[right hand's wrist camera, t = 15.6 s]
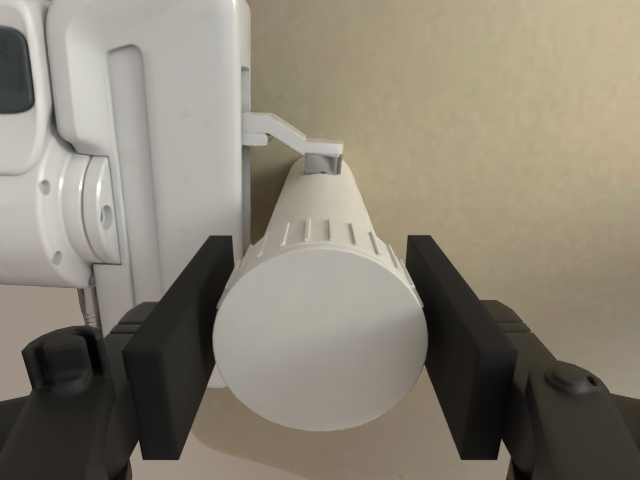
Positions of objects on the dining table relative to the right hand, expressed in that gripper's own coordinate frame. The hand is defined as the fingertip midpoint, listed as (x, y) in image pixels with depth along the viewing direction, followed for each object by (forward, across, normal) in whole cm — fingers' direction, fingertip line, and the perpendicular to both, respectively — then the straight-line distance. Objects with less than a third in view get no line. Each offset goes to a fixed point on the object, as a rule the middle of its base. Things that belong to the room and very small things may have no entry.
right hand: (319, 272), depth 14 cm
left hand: (+7, -1, 0) cm, 7 cm away
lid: (-4, 0, 0) cm, 4 cm away
